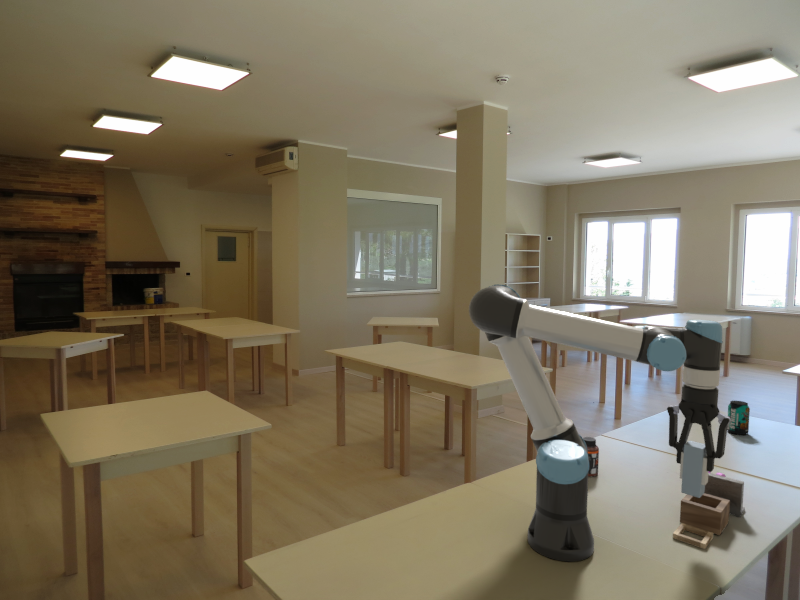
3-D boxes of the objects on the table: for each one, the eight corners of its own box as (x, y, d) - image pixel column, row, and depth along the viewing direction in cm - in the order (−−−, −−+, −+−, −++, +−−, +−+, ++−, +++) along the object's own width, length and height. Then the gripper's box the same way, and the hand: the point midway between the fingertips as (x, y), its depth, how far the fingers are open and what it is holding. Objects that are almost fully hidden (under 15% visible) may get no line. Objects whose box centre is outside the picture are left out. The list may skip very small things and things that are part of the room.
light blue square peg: (699, 498, 123) (703, 448, 122) (681, 492, 126) (684, 444, 125) (704, 492, 126) (707, 444, 125) (686, 487, 129) (689, 440, 128)
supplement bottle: (599, 478, 161) (600, 442, 160) (579, 476, 163) (580, 441, 162) (596, 470, 167) (597, 436, 166) (576, 469, 168) (577, 434, 167)
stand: (705, 549, 122) (705, 544, 122) (672, 538, 127) (673, 533, 127) (713, 537, 127) (713, 533, 127) (681, 527, 132) (681, 522, 132)
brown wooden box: (719, 535, 128) (721, 512, 127) (679, 522, 134) (680, 500, 134) (728, 522, 134) (729, 500, 134) (690, 510, 140) (691, 489, 140)
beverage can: (752, 435, 200) (754, 405, 199) (734, 435, 200) (735, 405, 199) (740, 429, 207) (742, 400, 206) (722, 429, 207) (724, 400, 206)
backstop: (740, 517, 137) (742, 484, 136) (690, 502, 145) (691, 471, 145) (744, 510, 141) (746, 478, 140) (695, 496, 149) (696, 465, 148)
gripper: (745, 389, 121) (738, 486, 123) (666, 376, 132) (661, 465, 135) (738, 395, 115) (730, 496, 117) (656, 381, 127) (651, 473, 129)
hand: (693, 479), depth 126 cm, fingers closed on light blue square peg, 4 cm apart
